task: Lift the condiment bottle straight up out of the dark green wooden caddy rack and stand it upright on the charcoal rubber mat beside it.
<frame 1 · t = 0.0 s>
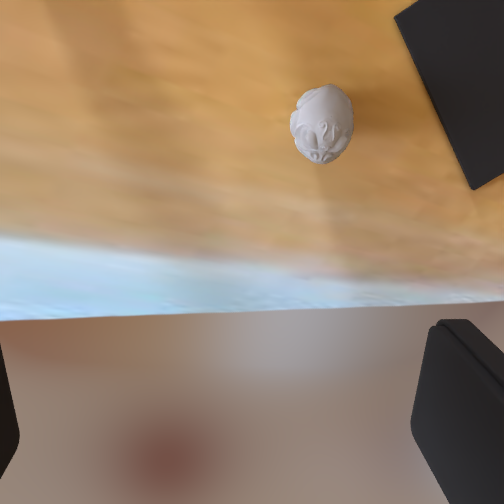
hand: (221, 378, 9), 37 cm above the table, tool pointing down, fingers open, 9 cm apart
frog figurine: (314, 120, 44), on the table
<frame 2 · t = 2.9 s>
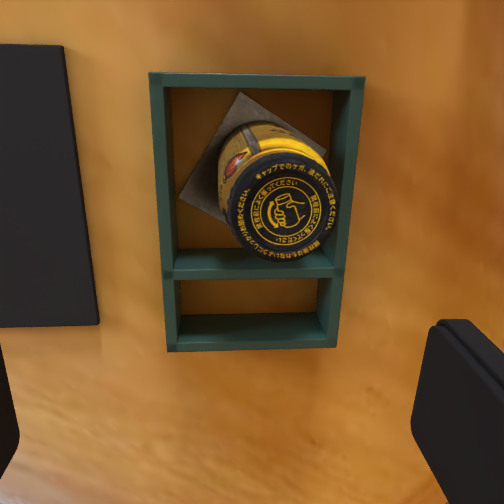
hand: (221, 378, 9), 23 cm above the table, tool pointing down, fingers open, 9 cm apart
caddy: (251, 173, 31), on the table
condiment: (251, 172, 31), resting in caddy
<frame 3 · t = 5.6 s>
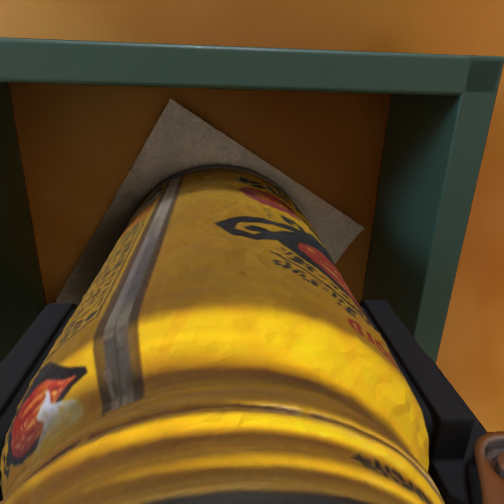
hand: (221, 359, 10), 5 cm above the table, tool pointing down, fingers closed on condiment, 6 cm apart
caddy: (208, 267, 15), on the table
condiment: (203, 268, 15), resting in caddy, touching gripper
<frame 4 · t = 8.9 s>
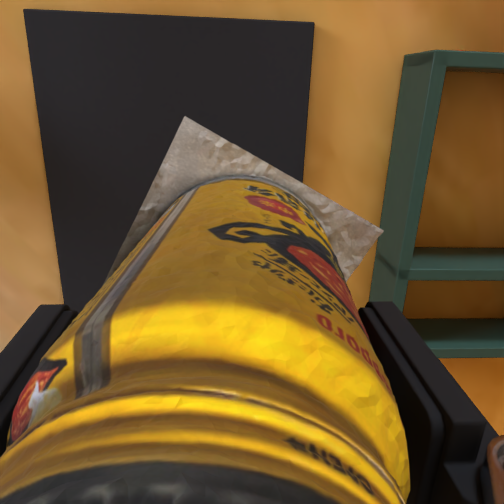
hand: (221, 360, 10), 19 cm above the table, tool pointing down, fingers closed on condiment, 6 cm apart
mat: (178, 190, 28), on the table
caddy: (480, 166, 29), on the table
condiment: (226, 276, 15), point 14 cm above the table, touching gripper
when the fingers open (6 cm above the table, at t = 12.5 s): condiment stays where it is, resting on mat.
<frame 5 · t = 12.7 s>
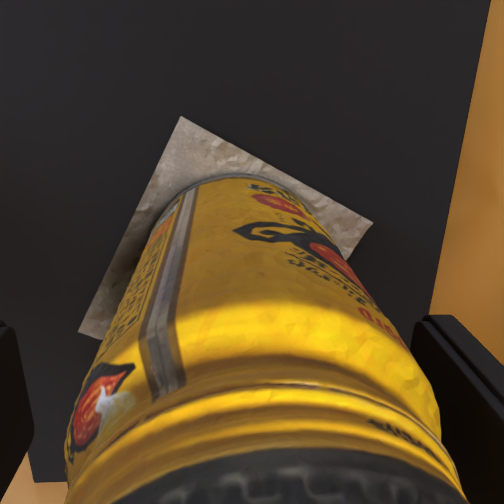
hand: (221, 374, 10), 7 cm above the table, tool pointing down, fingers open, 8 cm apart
mat: (221, 261, 16), on the table
condiment: (222, 272, 16), resting on mat
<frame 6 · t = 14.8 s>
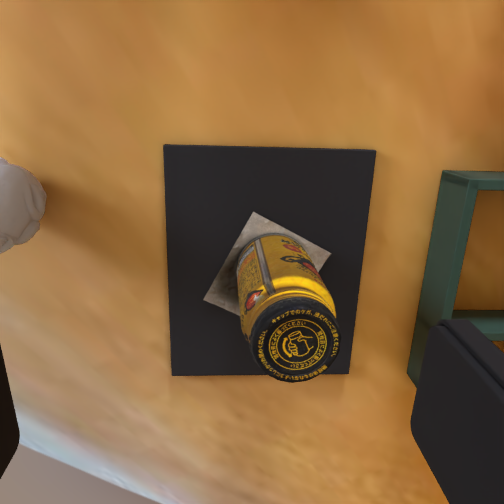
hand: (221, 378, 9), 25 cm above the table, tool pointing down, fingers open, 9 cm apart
mat: (265, 269, 36), on the table
caddy: (500, 249, 37), on the table
condiment: (266, 274, 36), resting on mat
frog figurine: (20, 193, 33), on the table
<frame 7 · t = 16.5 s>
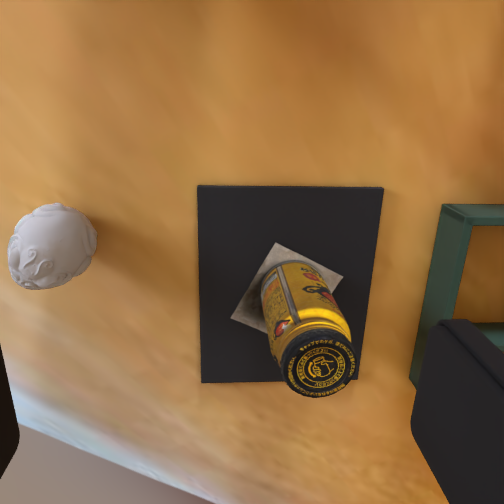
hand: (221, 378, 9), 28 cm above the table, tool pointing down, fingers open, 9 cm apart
mat: (284, 290, 41), on the table
caddy: (492, 270, 41), on the table
condiment: (285, 295, 40), resting on mat
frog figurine: (70, 228, 37), on the table
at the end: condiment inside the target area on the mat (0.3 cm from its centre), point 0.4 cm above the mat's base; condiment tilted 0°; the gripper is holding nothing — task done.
